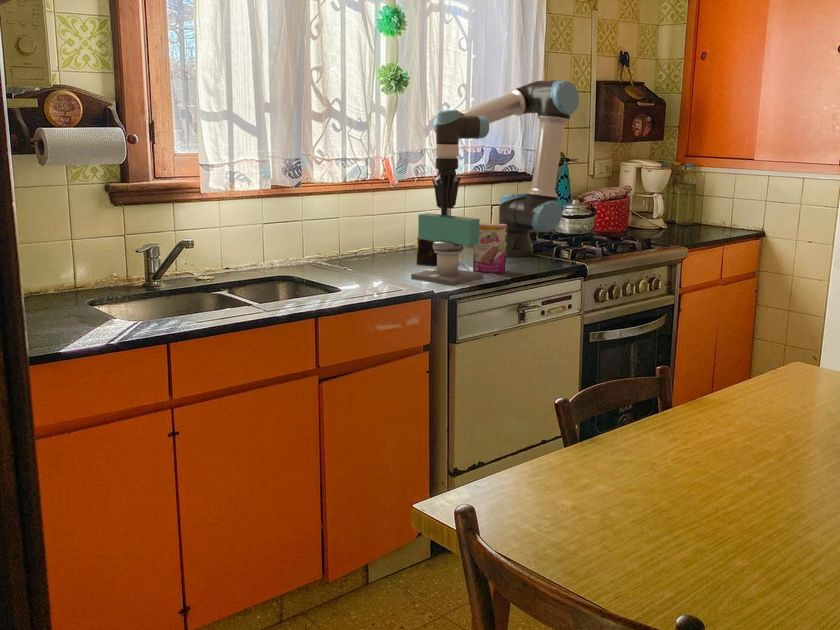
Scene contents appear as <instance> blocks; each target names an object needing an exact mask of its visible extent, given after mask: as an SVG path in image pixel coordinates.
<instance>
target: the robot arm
mask: <svg viewBox="0 0 840 630" xmlns="http://www.w3.org/2000/svg"><path fill="white" fill-rule="evenodd" d="M579 104H580V92H579V91H578V89H577V87H576V86H575V84H574V83H573V82H571V81H570V80H565V79H564V80H562V79H557V80H554V79H553V80H537V81H536V80H535V81H532V82H529V83H527V84H525V85H522V86H520V87H516V88H514V89H511V90H510V91H509V92H508V94H505V95H503V96H500V97H497V98H496V97H495V98H494V99H491V100H488V101H486V102H482V103H480V104H477V105H473V106H470V107H468V108H465V109H462V110H458V109H440V110H438V111H437V112H436V118H435V119H434V122H433V127H432V128H433V131H434V133H435V134H436V135H435V140H436V141H435V143H436V145H435V147H436V149H435V156H436V159H435V168H436V169H437V170H438V171H437V176H436V178H433V179H432V184H433V187H434V188H433V189H434V194H435V195H434V196H435V201H436V207H438V209H440V215H449V216H452V209H455V206H456V203H457V197H458V191H459V184H460V182H461V177H458V176H457V172H456V170H458V168H459V158H458V157H459V156H460V155H459V154H460V153H459V152H460V151H459V148H460V147H459V145H460V144H459V141H460V140H462V139H463V140H465V139H466V140H467V139H468V140H469V139H472V140H473V139H474V140H475V139H477V140H479V139H484V138H486V137H487V136H488V135H489V132H490V124H492V123H495V122H498V121H500V120H503V119H506V118H509V117H511V116H514V115H515V116H518V117H519V116H523V115H526V114H527V115H528V114H537V117H536V118H537V119H538V120H539V123H540V124H539V125H540V126H539V133H538V139H537V147H536V152H535V153H536V154H535V160H534V161H535V162H534V167H533V174H532V180H531V187H530V189H529V190H528V191H526V193H514V194H513V193H512V194H502V195H501V196H500V198H499V204H498V208H499V210H498V224H507V245H506V257H508V258H510V257H512V258H515V257H516V258H519V257H520V258H521V257H530V256H533V255H534V248H533V244H532V240H531V237H530V231H535V232H536V233H538V232H539V233H550V232H552V231H553V230H555V229H556V228H557V227H558V226H559V225H560V223H561V220H562V217H563V209H562V206H561V204H560V203H559V202H558V198H559V196H558V194H557V193H556V186H557V177H558V172H559V171H558V170H559V164H560V157H561V150H562V145H563V137H564V131H565V125H566V124H568V123H569V122H570V120H571V115H572V114H573V113H575V112H576V110H578V108H579Z"/></svg>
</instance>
